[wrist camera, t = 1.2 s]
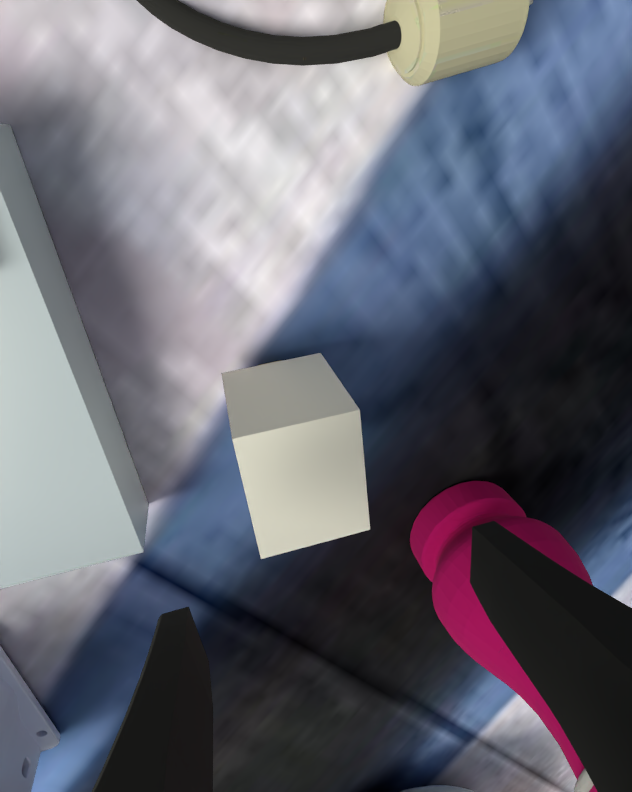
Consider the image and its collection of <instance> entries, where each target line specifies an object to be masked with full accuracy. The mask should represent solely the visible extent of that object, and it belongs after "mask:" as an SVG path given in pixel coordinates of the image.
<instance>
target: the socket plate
mask: <svg viewBox="0 0 632 792" xmlns="http://www.w3.org/2000/svg"><path fill="white" fill-rule="evenodd" d="M148 506H149V504H148V501H147V499H146V496H145V493H144V490H143V488H142V485H141V482H140V479H139V477H138V474H137V471H136V468H135V466H134V463H133V460H132V457H131V455H130V452H129V449H128V447H127V444H126V441H125V438H124V436H123V433H122V430H121V427H120V425H119V422H118V419H117V416H116V414H115V411H114V408H113V405H112V403H111V400H110V397H109V395H108V392H107V389H106V386H105V384H104V381H103V378H102V375H101V373H100V370H99V367H98V364H97V362H96V359H95V356H94V353H93V351H92V348H91V345H90V342H89V340H88V337H87V334H86V332H85V329H84V326H83V323H82V321H81V318H80V315H79V312H78V310H77V307H76V304H75V301H74V299H73V296H72V293H71V290H70V288H69V285H68V282H67V280H66V277H65V274H64V271H63V269H62V266H61V263H60V260H59V258H58V255H57V252H56V249H55V247H54V244H53V241H52V238H51V236H50V233H49V230H48V227H47V225H46V222H45V219H44V217H43V214H42V211H41V208H40V206H39V203H38V200H37V197H36V195H35V192H34V189H33V186H32V184H31V181H30V178H29V175H28V173H27V170H26V167H25V165H24V162H23V159H22V156H21V154H20V151H19V148H18V145H17V143H16V140H15V137H14V134H13V132H12V129H11V126H10V125H7V124H2V123H0V589H3V588H6V587H10V586H14V585H18V584H22V583H26V582H30V581H34V580H37V579H41V578H45V577H49V576H53V575H57V574H61V573H65V572H68V571H72V570H76V569H80V568H84V567H88V566H92V565H96V564H99V563H103V562H107V561H111V560H115V559H119V558H123V557H127V556H130V555H134V554H138V553H142V552H144V543H145V534H146V524H147V515H148Z"/></svg>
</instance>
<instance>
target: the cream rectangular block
mask: <svg viewBox="0 0 632 792" xmlns="http://www.w3.org/2000/svg"><path fill="white" fill-rule="evenodd" d="M222 379H223V385H224V392H225V398H226V404H227V410H228V416H229V422H230V428H231V434H232V440H233V444H234V448H235V452H236V457H237V461H238V465H239V469H240V473H241V478H242V482H243V486H244V490H245V494H246V498H247V503H248V507H249V511H250V515H251V519H252V524H253V528H254V532H255V536H256V540H257V544H258V549H259V553H260V557H261V559H263V558H267V557H271V556H274V555H278V554H282V553H285V552H289V551H293V550H296V549H300V548H304V547H308V546H311V545H315V544H319V543H322V542H326V541H330V540H333V539H337V538H341V537H345V536H348V535H352V534H356V533H359V532H363V531H367V530H370V522H369V510H368V499H367V487H366V476H365V464H364V452H363V441H362V429H361V418H360V409H359V408H358V406H357V405H356V404H355V402H354V401H353V399H352V398H351V396H350V395H349V393H348V392H347V390H346V389H345V388H344V386H343V385H342V383H341V382H340V380H339V379H338V377H337V376H336V374H335V373H334V372H333V370H332V369H331V367H330V366H329V364H328V363H327V361H326V360H325V358H324V357H323V356H322V354H321V353H317V354H312V355H307V356H302V357H298V358H293V359H288V360H283V361H281V360H280V361H275V362H270V363H265V364H260V365H258V366H254V367H249V368H244V369H239V370H234V371H230V372H225V373H222Z"/></svg>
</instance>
